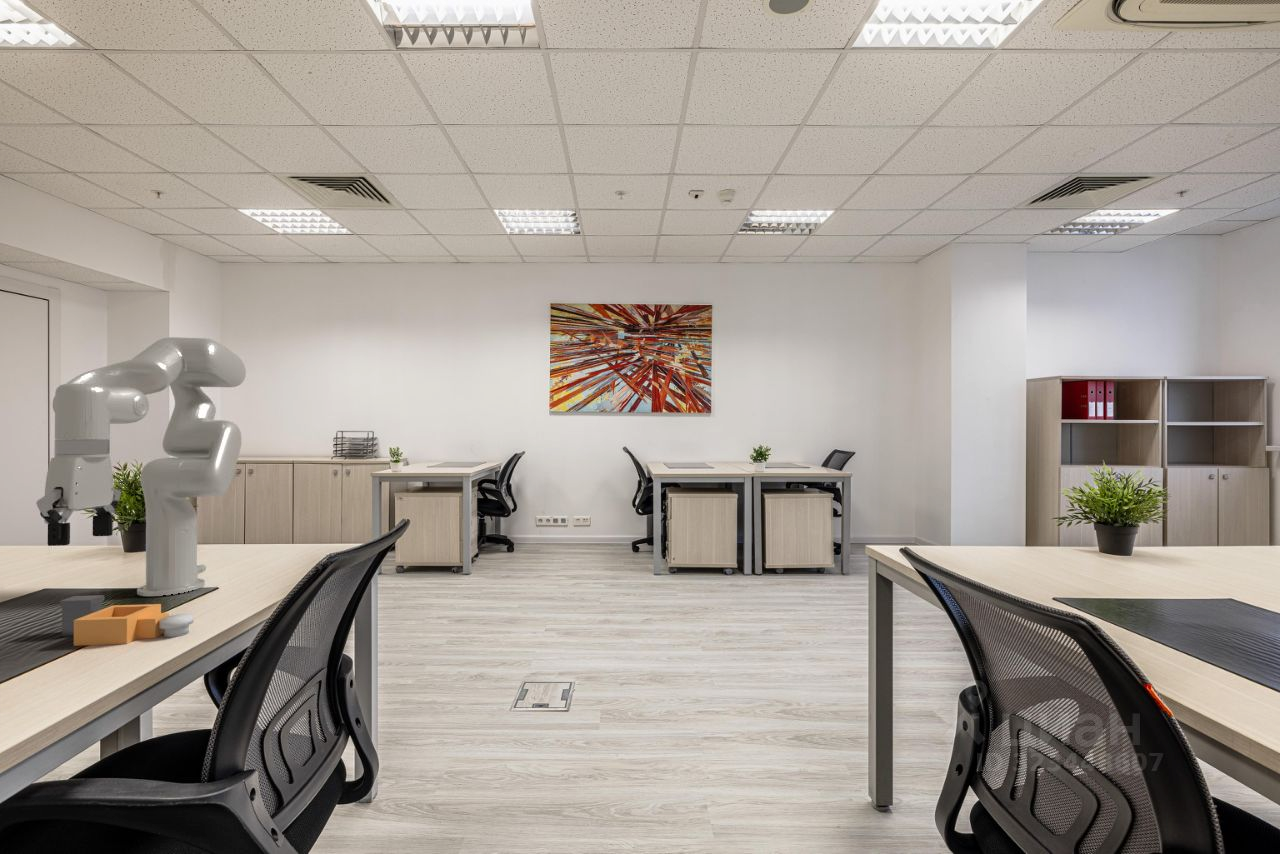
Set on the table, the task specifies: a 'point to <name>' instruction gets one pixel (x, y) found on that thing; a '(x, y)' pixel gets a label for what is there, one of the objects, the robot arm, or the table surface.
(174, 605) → the table surface
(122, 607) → the orange handled frame
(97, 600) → the grey rectangular block
